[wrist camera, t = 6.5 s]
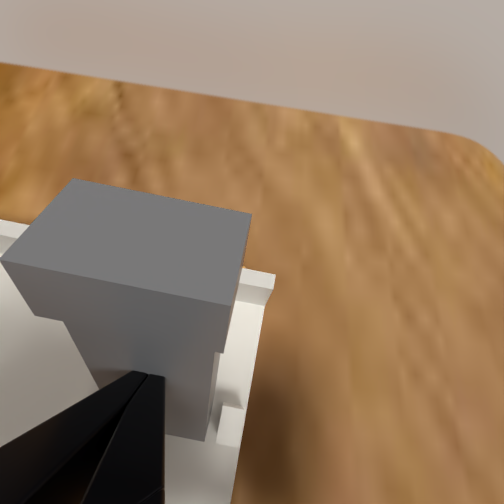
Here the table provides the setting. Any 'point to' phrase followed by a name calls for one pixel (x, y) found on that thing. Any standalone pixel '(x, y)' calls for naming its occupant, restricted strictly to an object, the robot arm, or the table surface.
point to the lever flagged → (137, 287)
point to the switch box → (82, 385)
